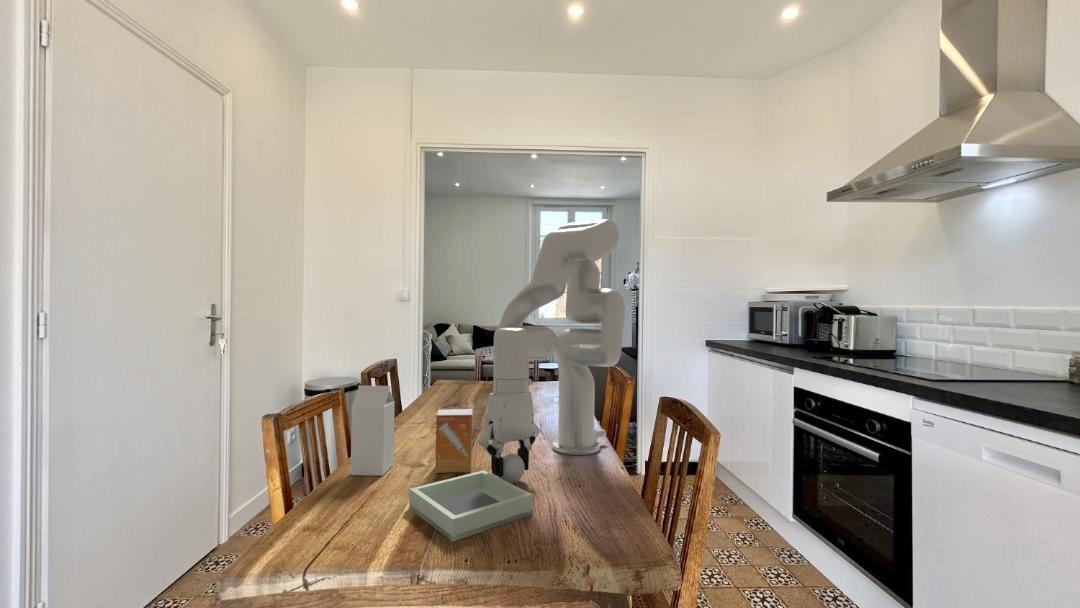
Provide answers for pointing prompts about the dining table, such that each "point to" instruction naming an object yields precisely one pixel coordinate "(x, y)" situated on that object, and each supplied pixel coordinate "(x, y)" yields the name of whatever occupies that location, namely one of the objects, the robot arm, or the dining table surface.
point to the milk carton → (372, 431)
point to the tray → (459, 526)
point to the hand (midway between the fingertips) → (510, 470)
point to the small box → (453, 440)
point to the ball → (512, 468)
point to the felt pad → (467, 502)
